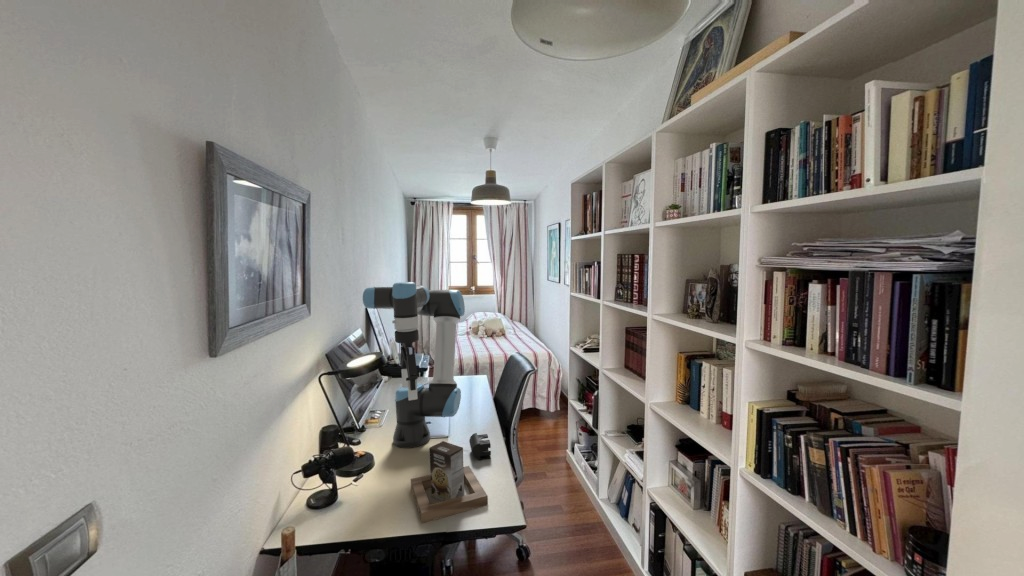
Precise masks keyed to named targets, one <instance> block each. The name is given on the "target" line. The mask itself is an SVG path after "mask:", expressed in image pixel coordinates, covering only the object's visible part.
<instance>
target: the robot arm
mask: <svg viewBox="0 0 1024 576" xmlns="http://www.w3.org/2000/svg"><path fill="white" fill-rule="evenodd" d="M362 304H363V306H364V307H365V308H366V309H373V310H375V309H385V310H393V320H392V321H391V323H392V324H394V330H395V331H394V341H395V343H397V344H400V360H399V361H400V368H401V386H400V387H398V388H397V389H396V391H395V396H394V397H395V399H394V401H395V411H396V412H395V415H396V416H395V417H396V425H395V429H394V432H393V433H394V434H393V436H392V439H393V440H392V441H393V442H392V444H393V445H394V446H396V447H398V448H404V449H406V448H407V449H408V448H415V447H420V446H422V445H424V444H426V443H428V442H429V441H430V440H431V431H430V429H429V427H428V424H427V421H426V418H429V417H430V418H450V417H451V418H452V417H454V416H455V415H457V413H458V411H459V409H460V404H461V399H462V390H461V388H460V387H458V383H457V382H456V381H455V361H456V360H455V359H456V339H457V337H456V336H457V324H458V323H459V322H460V320H461V317H463V316H464V315H465V312H466V309H465V300H464V296H463V294H462V292H461V291H460V290H459V289H431V290H430V289H427V288H426V287H425V286H423V285H420V284H418V285H417V283H416V282H413V281H403V282H402V281H401V282H395V283H393V284H392V286H379V287H377V286H376V287H375V286H371V287H366V288H365V289H364V291H363V293H362ZM418 315H419V316H424V317H433V321H434V322H435V323H436V328H435V330H436V331H435V341H434V342H435V343H434V344H435V345H434V357H433V358H434V359H433V360H434V361H433V374H432V375H433V377H432V380H431V381H429V384H428V387H425V384H424V383H421V382H418V381H417V380H418V378H419V375H418V369H417V368H418V367H417V360H416V353H415V352H416V348H415V347H414V346H413V343H416V342H418V341H419V339H420V335H419V329H418V328H419V316H418Z"/></svg>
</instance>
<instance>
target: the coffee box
mask: <svg viewBox="0 0 1024 576" xmlns="http://www.w3.org/2000/svg"><path fill="white" fill-rule="evenodd" d="M428 449H429V468H430V469H429V470H430V471H429V473H430V475H431V488H430V489H431V490H430V495H431V497H432V498H434V499H437V500H439V501H440V502H442V501H446V500H450V499H454V498H458V497H461V496H465V482H464V468H463V467H464V447H462V446H459V445H457V444H456V445H455V444H453V443H450V442H447V441H443V440H442V441H440V442H439V443H435V444H434V445H432V446H431V447H429V448H428Z"/></svg>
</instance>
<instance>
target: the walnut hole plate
mask: <svg viewBox="0 0 1024 576" xmlns="http://www.w3.org/2000/svg"><path fill="white" fill-rule="evenodd" d="M463 468H464V485H465V486H466V488H467V490H468V491H469V493H470V494H466V495H465V494H464V496H461V497H458V498H454V499H450V500H446V501H439V502H435V503H432V504H431V503H430V501H429V498H428V495H427V492H426V490H428V489H431V474H427V475H423V476H418V477H414V478H411V479H410V487H411V492H412V495H413V497H414V501H415V504H416V507H417V511H418V514H419V517H420V521H421V524H424V523H427V522H428V523H429V522H431V521H434V520H438V519H441V518H446V517H449V516H453V515H456V514H460V513H464V512H468V511H472V510H475V509H478V508H482V507H486V506H488V505H489V499H488V493H487V492H486V490H485V489H484V488H483V486H482V484H481V483H480V481H479V480H478V478H477V476H476V475H475V474H474V472H473V470H472V469H471V467H470V465H465V466H463Z"/></svg>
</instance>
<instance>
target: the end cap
mask: <svg viewBox="0 0 1024 576" xmlns="http://www.w3.org/2000/svg"><path fill="white" fill-rule="evenodd" d="M488 438H489V435H488V434H487V433H486V434H478V432H475V433H473V434H472V435H470V437H469V440H468V441H469V446H470V450H471V455H472V456H473V458H475V460H476V459H477V460H478V461H485V460H491V459H492V457H491V455H492V450H489V449H491V448H492V447H491V446H492V443H491V440H490V439H488ZM486 439H487V440H486Z"/></svg>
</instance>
